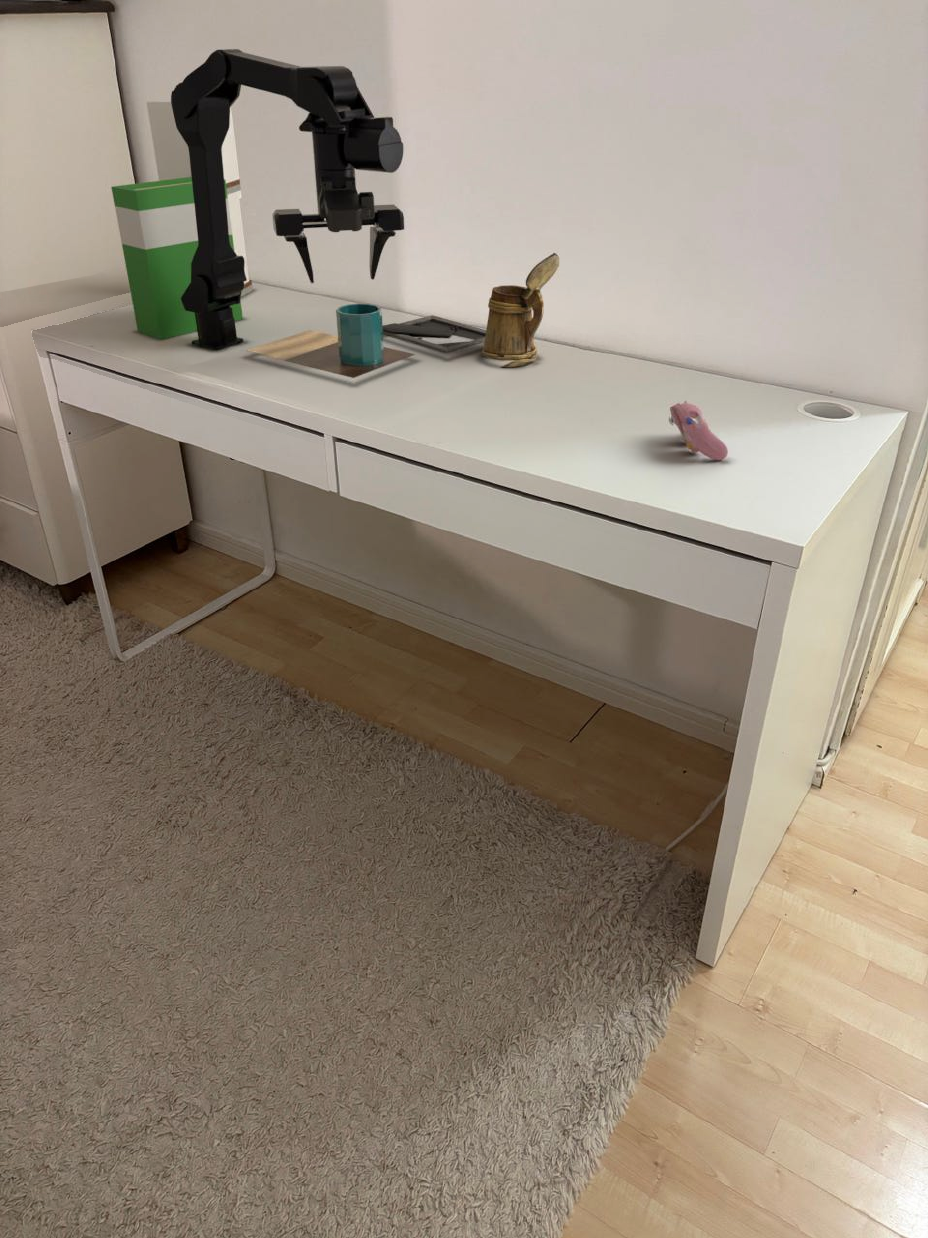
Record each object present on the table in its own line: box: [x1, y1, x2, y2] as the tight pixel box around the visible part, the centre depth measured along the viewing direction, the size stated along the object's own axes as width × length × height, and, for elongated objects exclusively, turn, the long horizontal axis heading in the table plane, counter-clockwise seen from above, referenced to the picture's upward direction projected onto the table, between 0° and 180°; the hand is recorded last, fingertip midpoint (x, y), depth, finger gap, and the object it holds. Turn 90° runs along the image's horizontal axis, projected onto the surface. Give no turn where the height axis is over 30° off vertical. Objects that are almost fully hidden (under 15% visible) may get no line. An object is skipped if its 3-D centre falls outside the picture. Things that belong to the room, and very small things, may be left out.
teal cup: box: [335, 303, 385, 366], centre depth 150 cm, size 7×7×8 cm
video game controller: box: [668, 400, 729, 461], centre depth 123 cm, size 10×5×7 cm, turn 5°
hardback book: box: [111, 177, 244, 340], centre depth 168 cm, size 18×7×24 cm, turn 138°
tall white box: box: [146, 100, 254, 298], centre depth 184 cm, size 11×11×35 cm
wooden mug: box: [481, 252, 560, 368], centre depth 150 cm, size 9×14×18 cm, turn 44°
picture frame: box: [382, 314, 486, 354], centre depth 165 cm, size 13×2×18 cm
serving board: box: [245, 329, 416, 379], centre depth 156 cm, size 24×15×1 cm, turn 53°
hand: (342, 280), depth 144 cm, fingers open, 9 cm apart
